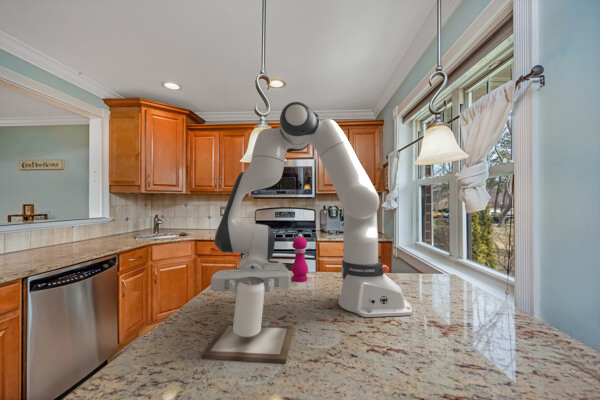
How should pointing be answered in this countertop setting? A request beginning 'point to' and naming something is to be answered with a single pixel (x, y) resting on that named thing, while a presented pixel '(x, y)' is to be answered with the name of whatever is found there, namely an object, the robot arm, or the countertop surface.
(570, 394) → the countertop surface
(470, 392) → the countertop surface
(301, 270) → the pepper mill
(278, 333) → the clipboard
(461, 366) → the countertop surface
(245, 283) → the can
